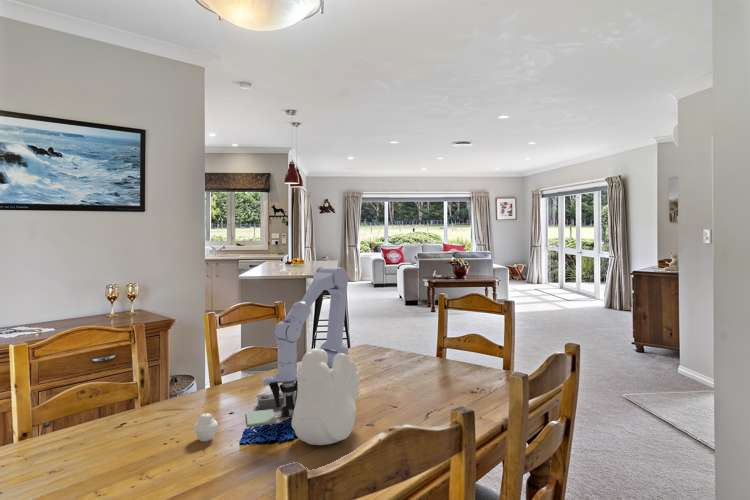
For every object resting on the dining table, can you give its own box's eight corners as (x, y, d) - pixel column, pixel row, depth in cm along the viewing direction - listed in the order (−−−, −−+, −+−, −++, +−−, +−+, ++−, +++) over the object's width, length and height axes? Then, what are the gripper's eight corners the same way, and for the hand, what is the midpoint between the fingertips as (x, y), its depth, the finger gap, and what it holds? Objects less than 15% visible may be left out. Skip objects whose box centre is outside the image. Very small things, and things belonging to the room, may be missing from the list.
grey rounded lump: (195, 445, 121) (194, 419, 121) (192, 437, 126) (192, 411, 126) (219, 441, 124) (219, 414, 123) (216, 432, 129) (216, 407, 129)
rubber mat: (272, 410, 145) (272, 408, 145) (276, 422, 135) (276, 420, 135) (246, 413, 143) (246, 412, 143) (247, 426, 133) (247, 424, 133)
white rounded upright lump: (316, 461, 112) (315, 358, 111) (278, 441, 123) (277, 348, 122) (386, 430, 130) (385, 341, 129) (347, 415, 141) (347, 334, 140)
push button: (279, 420, 137) (278, 386, 137) (274, 414, 142) (272, 382, 142) (301, 415, 141) (299, 382, 140) (294, 409, 145) (293, 378, 145)
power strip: (313, 398, 156) (312, 387, 156) (315, 403, 151) (315, 392, 151) (257, 404, 150) (257, 393, 150) (259, 410, 146) (258, 398, 146)
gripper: (307, 355, 148) (307, 397, 148) (260, 360, 142) (261, 404, 142) (313, 360, 141) (313, 405, 142) (264, 366, 135) (265, 412, 136)
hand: (287, 405), depth 141 cm, fingers open, 6 cm apart
